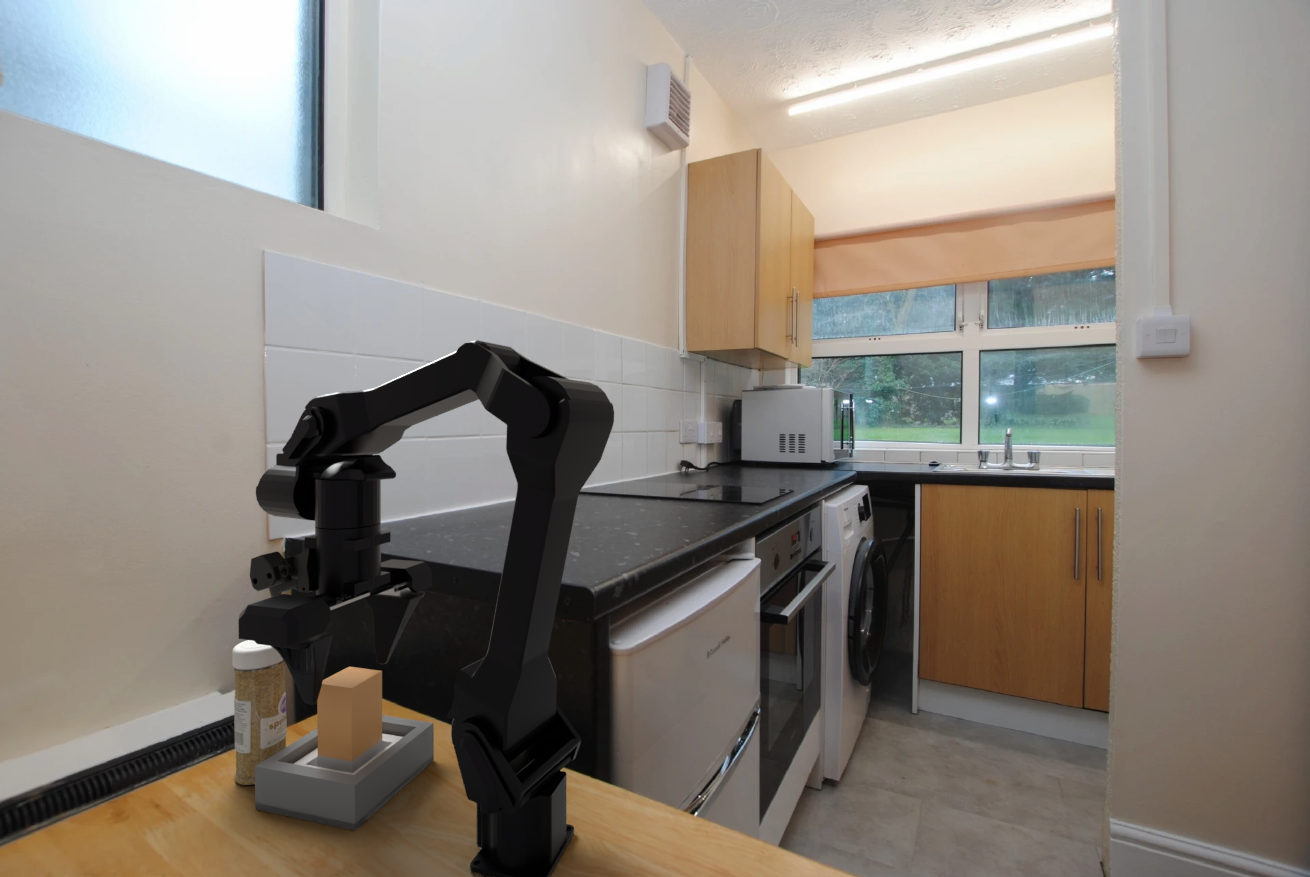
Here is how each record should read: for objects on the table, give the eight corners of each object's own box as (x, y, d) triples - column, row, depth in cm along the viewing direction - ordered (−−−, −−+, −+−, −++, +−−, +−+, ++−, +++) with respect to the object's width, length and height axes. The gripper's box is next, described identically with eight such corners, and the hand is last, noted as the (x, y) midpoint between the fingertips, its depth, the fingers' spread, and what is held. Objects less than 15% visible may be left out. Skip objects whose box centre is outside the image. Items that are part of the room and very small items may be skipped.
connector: (382, 768, 58) (382, 670, 58) (352, 792, 54) (351, 688, 54) (349, 762, 59) (349, 666, 59) (317, 785, 55) (317, 683, 55)
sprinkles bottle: (288, 777, 58) (287, 644, 57) (231, 793, 55) (230, 654, 55) (287, 755, 61) (286, 631, 61) (234, 769, 59) (233, 639, 59)
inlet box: (433, 760, 61) (433, 723, 61) (354, 830, 50) (354, 785, 50) (347, 745, 63) (347, 709, 63) (255, 809, 53) (255, 766, 53)
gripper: (352, 508, 67) (352, 639, 68) (187, 537, 49) (189, 716, 50) (435, 512, 65) (434, 649, 65) (292, 544, 47) (292, 734, 47)
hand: (349, 681), depth 57 cm, fingers open, 9 cm apart
